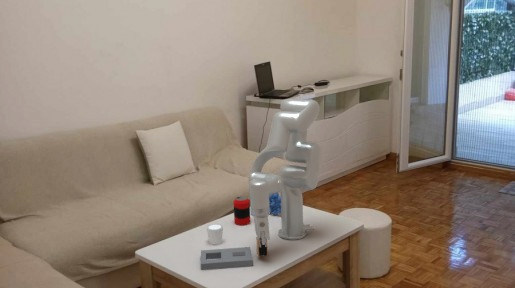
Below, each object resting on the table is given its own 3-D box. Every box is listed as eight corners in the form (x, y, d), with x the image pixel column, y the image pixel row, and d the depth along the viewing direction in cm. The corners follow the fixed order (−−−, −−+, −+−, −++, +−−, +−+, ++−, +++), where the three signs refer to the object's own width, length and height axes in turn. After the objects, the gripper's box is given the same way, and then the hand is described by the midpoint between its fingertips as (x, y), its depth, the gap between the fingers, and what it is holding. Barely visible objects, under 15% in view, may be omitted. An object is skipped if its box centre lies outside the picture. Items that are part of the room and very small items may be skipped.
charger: (266, 250, 201) (265, 232, 199) (267, 255, 197) (266, 237, 195) (257, 251, 201) (255, 233, 199) (257, 256, 197) (256, 237, 195)
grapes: (289, 215, 243) (289, 191, 241) (281, 219, 238) (280, 195, 236) (270, 210, 251) (270, 187, 248) (262, 214, 246) (261, 191, 243)
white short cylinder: (226, 239, 218) (225, 224, 216) (219, 246, 211) (219, 230, 210) (211, 237, 220) (210, 223, 218) (205, 244, 214) (204, 229, 212)
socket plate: (250, 252, 204) (250, 246, 204) (252, 265, 193) (252, 259, 192) (201, 256, 203) (201, 250, 202) (201, 269, 191) (200, 263, 190)
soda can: (241, 218, 241) (239, 194, 239) (253, 221, 237) (252, 197, 234) (231, 223, 235) (230, 199, 233) (243, 226, 231) (242, 202, 228)
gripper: (272, 217, 187) (274, 261, 191) (267, 201, 203) (269, 242, 207) (252, 219, 186) (255, 263, 191) (248, 203, 202) (251, 244, 207)
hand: (262, 252), depth 199 cm, fingers closed on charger, 4 cm apart
